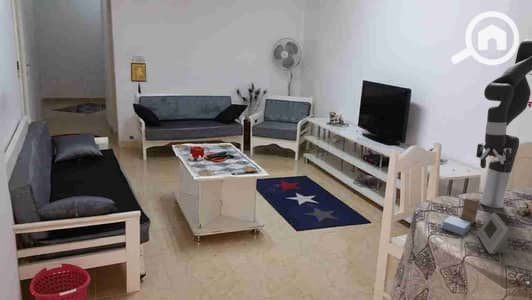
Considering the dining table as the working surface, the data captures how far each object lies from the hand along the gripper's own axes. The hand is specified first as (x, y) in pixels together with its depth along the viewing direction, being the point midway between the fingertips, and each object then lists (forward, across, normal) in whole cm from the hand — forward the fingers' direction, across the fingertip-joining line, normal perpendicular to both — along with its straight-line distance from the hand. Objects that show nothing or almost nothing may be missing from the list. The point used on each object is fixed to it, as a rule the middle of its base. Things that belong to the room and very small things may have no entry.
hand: (492, 170), depth 182 cm
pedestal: (+19, -3, +26) cm, 32 cm away
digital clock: (+21, -18, +26) cm, 38 cm away
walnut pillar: (+20, 0, +14) cm, 24 cm away
